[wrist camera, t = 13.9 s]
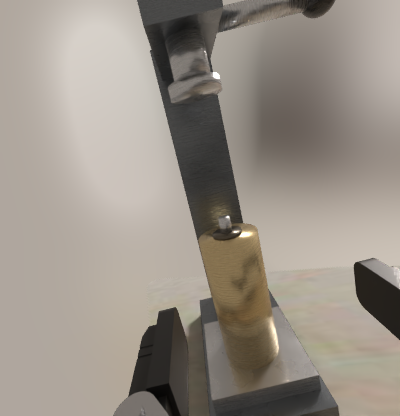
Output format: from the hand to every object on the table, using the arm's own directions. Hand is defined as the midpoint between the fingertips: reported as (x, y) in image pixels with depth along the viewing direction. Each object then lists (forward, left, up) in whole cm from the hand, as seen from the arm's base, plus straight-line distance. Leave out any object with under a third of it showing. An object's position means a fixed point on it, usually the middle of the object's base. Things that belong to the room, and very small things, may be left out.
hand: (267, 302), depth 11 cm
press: (-10, -10, -16) cm, 21 cm away
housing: (-5, -9, -13) cm, 17 cm away
